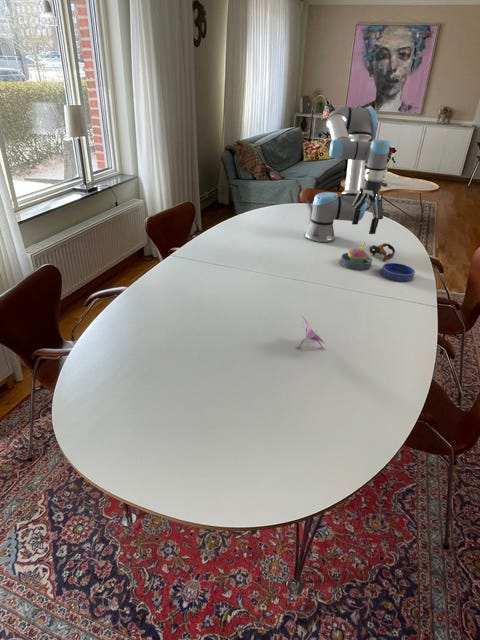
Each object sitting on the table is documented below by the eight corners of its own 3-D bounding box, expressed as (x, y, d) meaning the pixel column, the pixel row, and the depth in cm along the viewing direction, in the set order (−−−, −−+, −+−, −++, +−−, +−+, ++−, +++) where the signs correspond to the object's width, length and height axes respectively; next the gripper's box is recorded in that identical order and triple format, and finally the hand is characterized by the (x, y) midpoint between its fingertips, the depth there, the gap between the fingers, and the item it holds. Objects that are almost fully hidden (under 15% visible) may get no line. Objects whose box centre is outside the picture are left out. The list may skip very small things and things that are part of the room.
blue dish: (374, 270, 196) (376, 264, 194) (399, 268, 200) (401, 261, 198) (393, 283, 184) (395, 276, 183) (419, 280, 189) (421, 273, 187)
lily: (321, 363, 132) (337, 336, 130) (287, 346, 131) (303, 318, 129) (315, 352, 143) (329, 327, 142) (284, 336, 142) (298, 311, 140)
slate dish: (334, 260, 204) (336, 253, 202) (359, 257, 208) (361, 251, 207) (350, 271, 193) (351, 265, 191) (376, 269, 197) (378, 262, 196)
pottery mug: (386, 254, 215) (395, 244, 209) (387, 269, 210) (397, 258, 203) (364, 247, 213) (373, 236, 206) (365, 262, 208) (374, 251, 201)
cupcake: (365, 262, 203) (371, 237, 197) (364, 268, 196) (369, 243, 190) (347, 259, 205) (352, 234, 199) (345, 265, 198) (349, 240, 192)
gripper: (349, 173, 190) (341, 220, 201) (383, 186, 170) (372, 238, 180) (364, 173, 193) (355, 220, 203) (399, 186, 172) (387, 237, 183)
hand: (363, 229), depth 192 cm, fingers open, 13 cm apart
